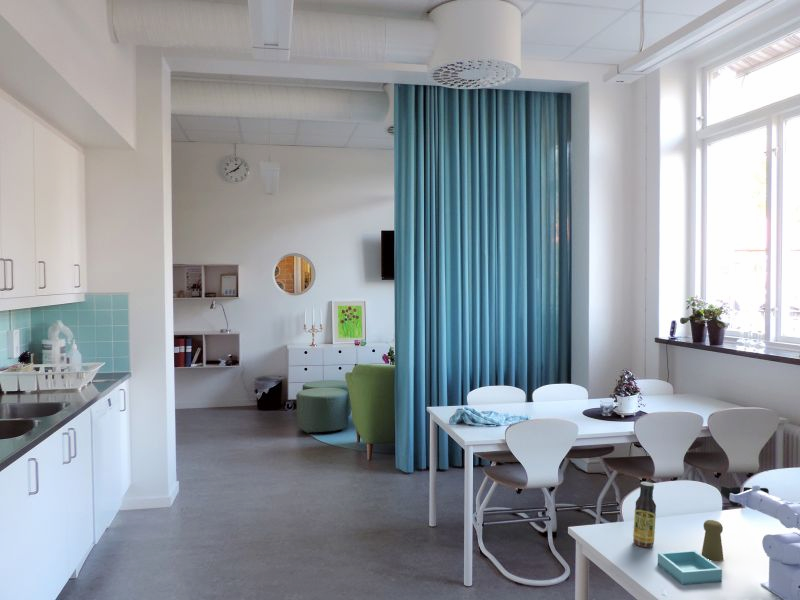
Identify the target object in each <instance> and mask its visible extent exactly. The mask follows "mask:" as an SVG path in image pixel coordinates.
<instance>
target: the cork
mask: <svg viewBox="0 0 800 600" xmlns="http://www.w3.org/2000/svg"><path fill="white" fill-rule="evenodd" d="M703 530H704V531H705V532H704V538H703V543H702V549H701V554H702V556H704V557H705V558H706V559H709V561H710V560H711V562H717V563H718V562H722V561H724V552H723V543H722V536H721V534H722V533H723V530H724V527H723V525H722V523H721V522H720V521H719V520H718V521H717V520H715V519H706V520H705V521H704V522H703Z"/></svg>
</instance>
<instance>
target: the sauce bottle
mask: <svg viewBox="0 0 800 600" xmlns="http://www.w3.org/2000/svg"><path fill="white" fill-rule="evenodd" d="M639 488H640V490H639V491H640V493H639V496H638V498H637V500H636V501H635V510H634V518H633V521H634V522H633V534H632V536H633V540H632V541H633V543H634V545H636V546H639V547H642V548H648V549H649V548H651V547H653V546H654V543H655V533H656V531H655V529H656V517H657V516H656V515H657V514H656V512H657V505H656V503H655V501H654V499H653V498H654V496H653V494H654V493H653V492H654V488H655V485H654V484H653V483H652V482H649V481H641V482H640V484H639Z"/></svg>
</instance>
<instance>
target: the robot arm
mask: <svg viewBox="0 0 800 600" xmlns="http://www.w3.org/2000/svg"><path fill="white" fill-rule="evenodd" d="M742 489H743V490H742V492H741V486H731V487H730V486H724V485H723V486H721V488H720V493H721V494H722V496H724V497H725V498H726V499H727V500H728V502H729V504H730V506H733V507H738V506H739V504H740V505H742V506H744V507H746V508H748V509H750V510H753V511H757V512H759V513H761V514H765V515H767V516H768V517H770V518H774V519H775V520H778V521H779V522H780V524H781V525H782V526H783V527H785V528H786V529H792V528H795V529H797V530H799V531H800V502H798V503H793V502H791V501H788V500H786V499H783V498H780V497H778V496H777V495H774V494H770V493H769V489H768V488H767V487H761V486H760V485H759V484H758V485H757V484H753V485H752V487H746V486H744V487H742ZM762 548H763V551H764V553H765V555H766V556H767V557H768V558H769V559H768V562H769V563H768V564H769V565H768V581H761V582H760V585H761V586H762V587H764V588H766V589H767V590H769V591H770V592H771V593H773V594H775V595H776V596H778V597H779V598H780V599H782V600H800V533H799V532H796V531H795V532H794V531H793V532H790V533H779V534H777V533H776V534H765V535H763V538H762Z"/></svg>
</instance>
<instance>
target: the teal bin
mask: <svg viewBox="0 0 800 600" xmlns="http://www.w3.org/2000/svg"><path fill="white" fill-rule="evenodd" d="M701 554H702V553H700V552H698V551H697V550H694V549H693V550H690V549H689V550H680V551H679V550H678V551H676V550H675V551H667V552H665V551H664V552H658V553H657V565H658V566H659V567H661V569H663V570H664V571H665V572H666V573H667V574H669V575H670V576H672V577H673V579H675V580H676V581H677V582H679V583H680V584H681V585H682V586H683V585H685V586H686V585H696V584H710V583H711V584H712V583H721V582H722V581H723V569H722V568H721V567H719V566H718V565H717V564H715V563H714V562H713V561H710V560H708V559H706V558H705V557H704V556H702V555H701Z"/></svg>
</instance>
